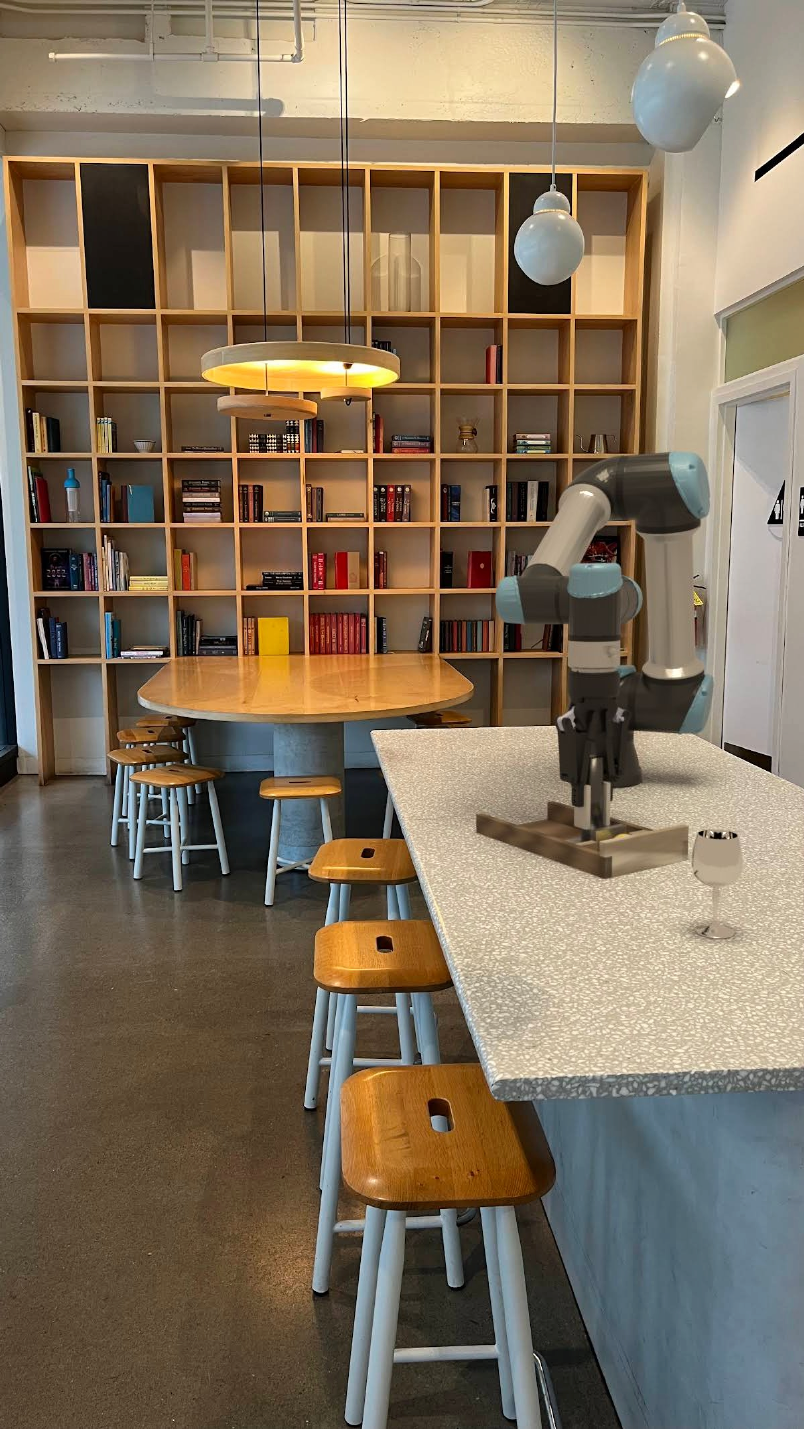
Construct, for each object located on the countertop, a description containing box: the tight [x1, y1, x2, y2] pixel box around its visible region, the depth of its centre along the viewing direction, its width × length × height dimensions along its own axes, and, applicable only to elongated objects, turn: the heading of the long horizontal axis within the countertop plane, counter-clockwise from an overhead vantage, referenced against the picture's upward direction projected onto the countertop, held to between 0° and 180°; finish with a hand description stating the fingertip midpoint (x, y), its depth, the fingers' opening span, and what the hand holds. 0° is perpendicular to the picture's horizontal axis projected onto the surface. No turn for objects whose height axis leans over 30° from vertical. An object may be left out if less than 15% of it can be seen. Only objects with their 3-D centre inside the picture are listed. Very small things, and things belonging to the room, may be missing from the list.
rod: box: [565, 755, 627, 852], centre depth 152 cm, size 7×9×14 cm
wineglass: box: [691, 829, 744, 940], centre depth 121 cm, size 6×6×12 cm
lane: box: [475, 800, 690, 880], centre depth 156 cm, size 30×16×6 cm, turn 32°
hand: (592, 825), depth 153 cm, fingers closed on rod, 3 cm apart
